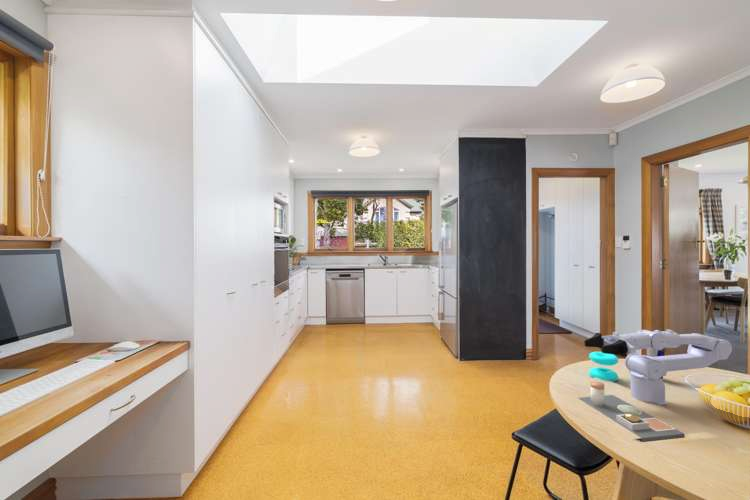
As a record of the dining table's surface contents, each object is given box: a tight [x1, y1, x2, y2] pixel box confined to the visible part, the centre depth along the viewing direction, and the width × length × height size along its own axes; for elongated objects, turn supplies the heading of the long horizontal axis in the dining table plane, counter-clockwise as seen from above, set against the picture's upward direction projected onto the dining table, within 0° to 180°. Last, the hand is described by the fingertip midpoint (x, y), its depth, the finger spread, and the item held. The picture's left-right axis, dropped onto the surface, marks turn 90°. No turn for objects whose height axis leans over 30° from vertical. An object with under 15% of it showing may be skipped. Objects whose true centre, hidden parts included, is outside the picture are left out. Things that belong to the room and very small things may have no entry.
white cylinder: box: [589, 380, 605, 406], centre depth 115 cm, size 4×4×7 cm
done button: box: [625, 412, 640, 423], centre depth 102 cm, size 4×4×2 cm
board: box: [578, 394, 686, 443], centre depth 108 cm, size 14×25×3 cm, turn 7°
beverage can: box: [646, 348, 664, 380], centre depth 138 cm, size 5×5×15 cm
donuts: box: [588, 351, 619, 383], centre depth 139 cm, size 10×10×10 cm
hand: (593, 346), depth 116 cm, fingers open, 7 cm apart
